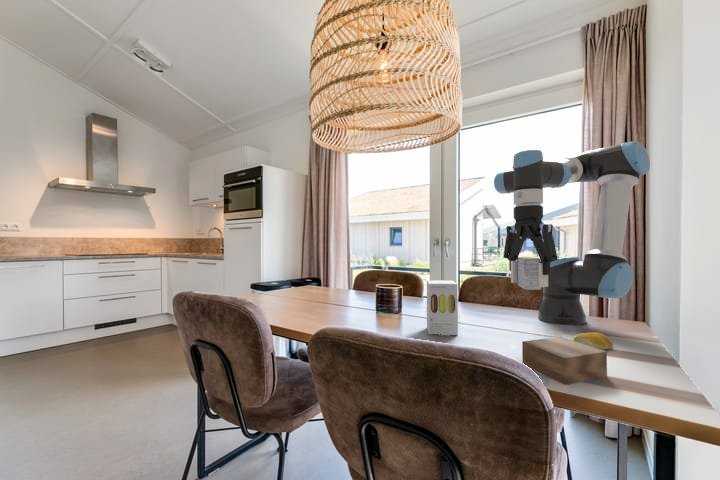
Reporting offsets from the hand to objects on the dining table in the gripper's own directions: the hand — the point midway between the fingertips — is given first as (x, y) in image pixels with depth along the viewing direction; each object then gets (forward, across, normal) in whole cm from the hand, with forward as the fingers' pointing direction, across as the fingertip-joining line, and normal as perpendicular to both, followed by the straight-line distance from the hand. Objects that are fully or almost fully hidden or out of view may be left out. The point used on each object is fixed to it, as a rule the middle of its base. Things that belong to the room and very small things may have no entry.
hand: (528, 284), depth 96 cm
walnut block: (+18, +16, -7) cm, 25 cm away
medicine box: (+1, 0, 0) cm, 1 cm away
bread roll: (+18, +7, +16) cm, 25 cm away
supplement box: (+18, -23, -13) cm, 32 cm away
